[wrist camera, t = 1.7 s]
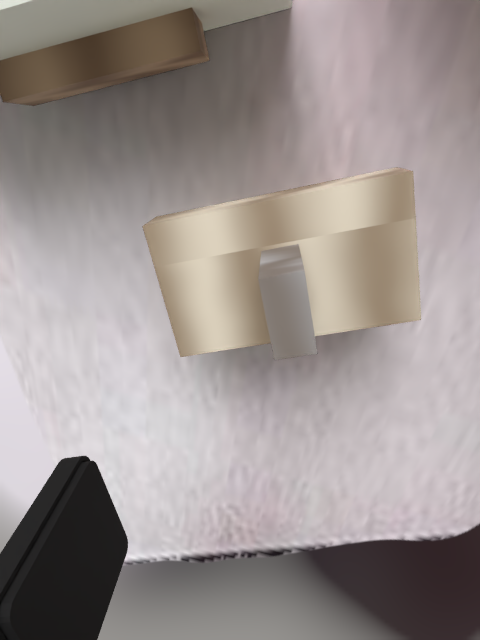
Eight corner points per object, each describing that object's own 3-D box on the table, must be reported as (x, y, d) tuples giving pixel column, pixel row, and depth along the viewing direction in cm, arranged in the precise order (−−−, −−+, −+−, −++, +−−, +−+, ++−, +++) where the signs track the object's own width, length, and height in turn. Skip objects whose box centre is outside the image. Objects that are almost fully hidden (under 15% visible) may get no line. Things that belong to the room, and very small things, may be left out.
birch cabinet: (371, 160, 30) (451, 181, 17) (380, 269, 33) (455, 363, 19) (179, 200, 32) (109, 248, 19) (204, 299, 35) (160, 404, 22)
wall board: (286, -31, 26) (295, -151, 15) (291, 7, 27) (303, -80, 16) (-47, 62, 30) (-236, 19, 19) (-34, 94, 30) (-209, 71, 19)
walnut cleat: (201, 23, 26) (191, 7, 23) (209, 60, 27) (200, 50, 24) (21, 71, 28) (-12, 63, 25) (33, 105, 29) (3, 102, 25)
